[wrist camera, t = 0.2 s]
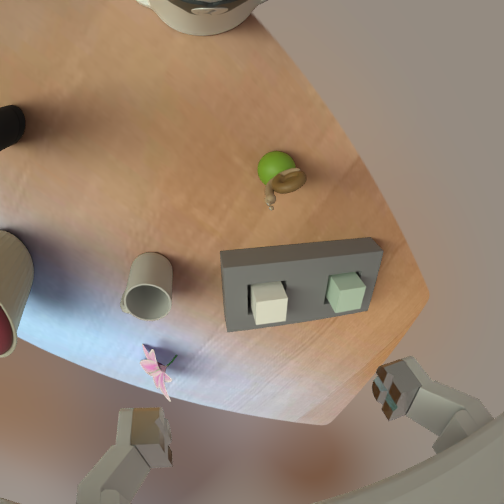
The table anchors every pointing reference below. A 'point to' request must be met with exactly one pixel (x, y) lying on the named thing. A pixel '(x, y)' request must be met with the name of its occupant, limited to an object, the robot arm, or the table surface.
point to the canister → (13, 288)
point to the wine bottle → (11, 125)
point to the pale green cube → (345, 291)
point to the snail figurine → (279, 175)
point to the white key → (268, 302)
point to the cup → (148, 288)
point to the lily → (156, 370)
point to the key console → (295, 278)
